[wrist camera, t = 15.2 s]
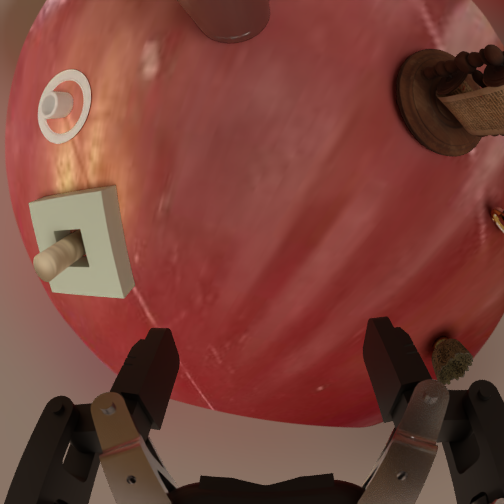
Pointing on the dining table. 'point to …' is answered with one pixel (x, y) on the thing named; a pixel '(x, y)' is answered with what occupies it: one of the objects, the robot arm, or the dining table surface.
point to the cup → (450, 359)
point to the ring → (495, 219)
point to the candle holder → (62, 105)
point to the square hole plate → (86, 241)
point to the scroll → (452, 98)
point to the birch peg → (59, 256)
